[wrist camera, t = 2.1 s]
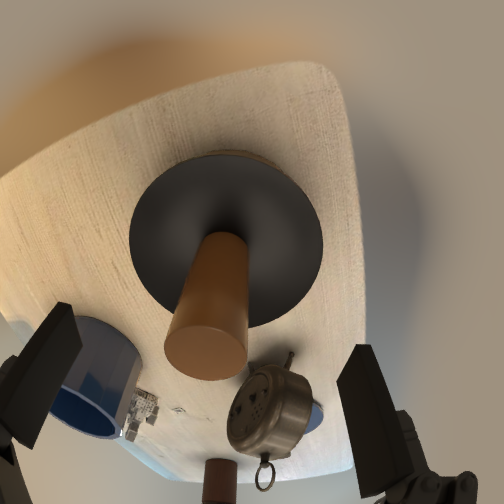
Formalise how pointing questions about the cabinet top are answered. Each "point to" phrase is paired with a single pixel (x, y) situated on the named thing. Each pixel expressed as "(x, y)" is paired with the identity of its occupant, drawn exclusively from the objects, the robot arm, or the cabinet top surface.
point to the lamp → (220, 482)
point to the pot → (99, 382)
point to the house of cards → (142, 412)
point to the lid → (223, 255)
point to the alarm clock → (269, 414)
